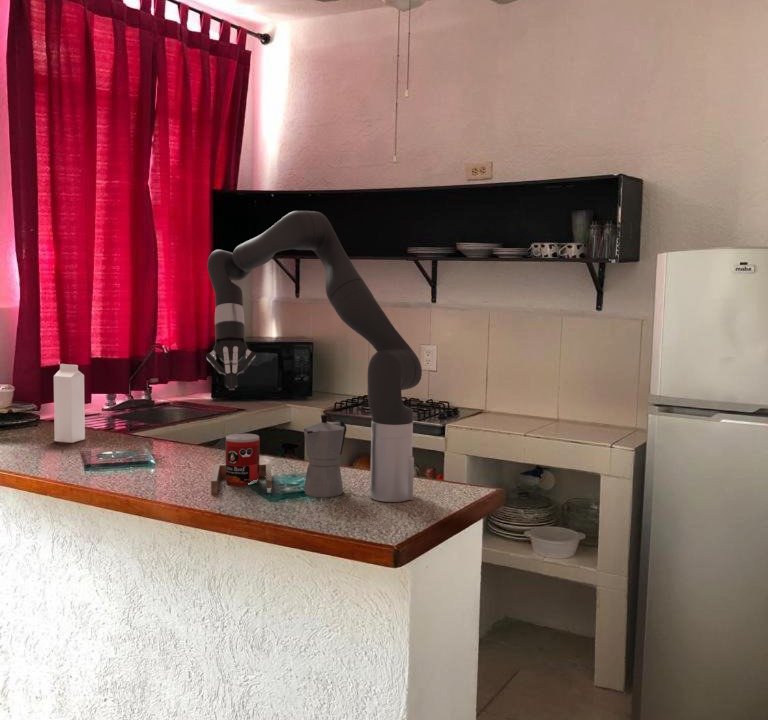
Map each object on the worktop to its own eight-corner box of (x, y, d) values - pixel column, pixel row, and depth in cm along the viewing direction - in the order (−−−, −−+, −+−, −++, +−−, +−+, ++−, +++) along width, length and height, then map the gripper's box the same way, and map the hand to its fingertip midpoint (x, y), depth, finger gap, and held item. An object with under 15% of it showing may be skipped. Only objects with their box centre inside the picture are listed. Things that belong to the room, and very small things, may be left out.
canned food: (218, 483, 203) (219, 437, 202) (239, 476, 210) (240, 432, 209) (245, 487, 200) (245, 440, 199) (265, 481, 207) (266, 435, 206)
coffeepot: (324, 502, 189) (325, 420, 187) (289, 495, 194) (290, 416, 192) (361, 487, 202) (362, 411, 201) (327, 482, 207) (328, 407, 205)
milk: (67, 437, 254) (66, 362, 252) (85, 439, 252) (84, 363, 250) (54, 441, 248) (53, 364, 246) (72, 443, 246) (71, 365, 244)
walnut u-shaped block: (270, 475, 212) (270, 463, 212) (271, 493, 195) (271, 480, 195) (214, 476, 210) (214, 464, 210) (211, 494, 193) (211, 481, 193)
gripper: (202, 320, 219) (204, 386, 214) (255, 318, 221) (258, 384, 216) (204, 329, 226) (206, 394, 221) (255, 328, 228) (258, 391, 223)
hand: (232, 389), depth 218 cm, fingers closed
